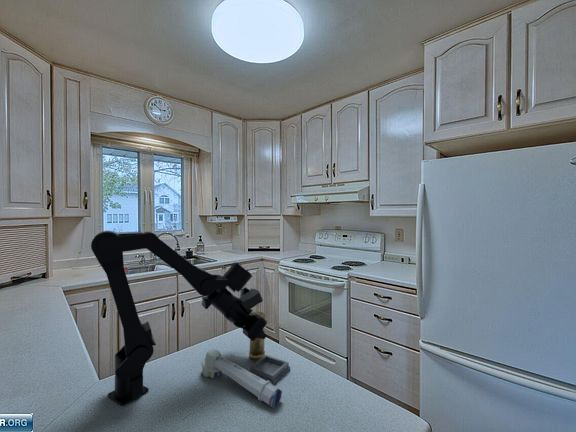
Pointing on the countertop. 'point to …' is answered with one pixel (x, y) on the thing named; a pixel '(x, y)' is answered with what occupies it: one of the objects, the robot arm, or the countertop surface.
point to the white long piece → (240, 377)
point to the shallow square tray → (270, 368)
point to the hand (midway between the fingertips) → (261, 334)
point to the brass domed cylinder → (257, 343)
